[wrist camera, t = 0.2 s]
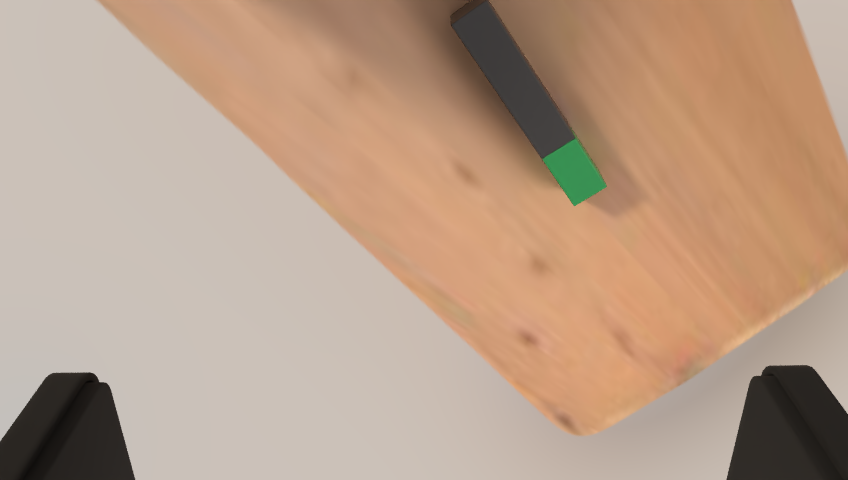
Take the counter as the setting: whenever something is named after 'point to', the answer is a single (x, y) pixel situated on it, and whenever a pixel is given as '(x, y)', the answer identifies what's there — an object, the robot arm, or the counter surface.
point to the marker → (527, 99)
